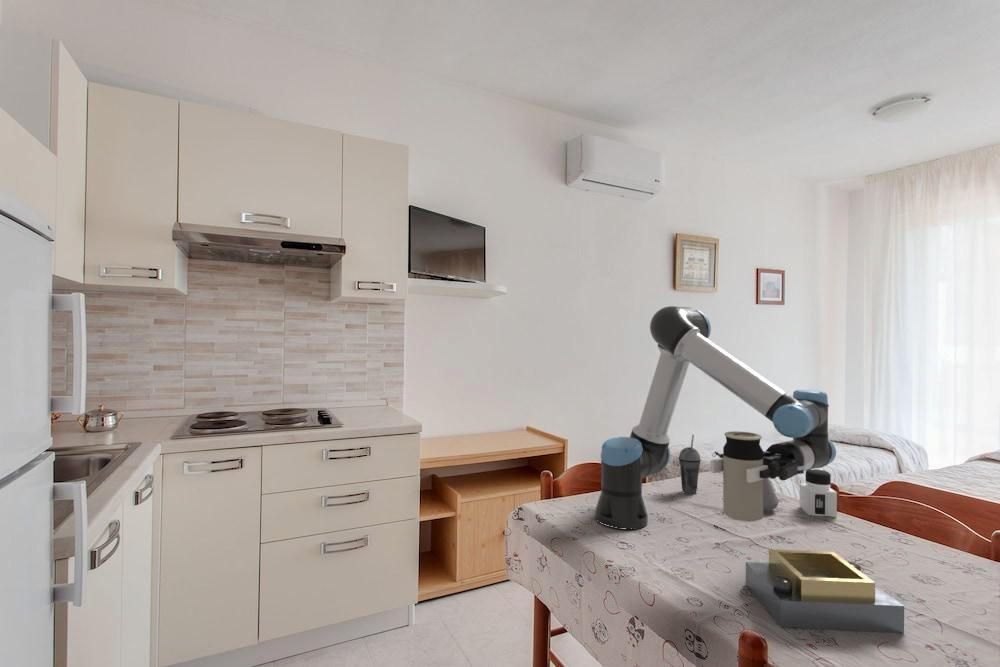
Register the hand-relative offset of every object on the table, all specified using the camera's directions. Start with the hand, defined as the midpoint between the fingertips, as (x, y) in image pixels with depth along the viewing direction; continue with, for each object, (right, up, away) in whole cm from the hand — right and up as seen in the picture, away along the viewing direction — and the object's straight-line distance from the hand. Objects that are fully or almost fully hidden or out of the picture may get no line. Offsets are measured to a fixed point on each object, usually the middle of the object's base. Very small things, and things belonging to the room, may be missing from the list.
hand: (729, 471), depth 109 cm
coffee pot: (+29, -26, +54) cm, 66 cm away
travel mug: (+4, -11, +2) cm, 12 cm away
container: (+48, -26, +46) cm, 72 cm away
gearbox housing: (+14, -25, -7) cm, 30 cm away
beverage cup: (+16, -25, +65) cm, 71 cm away
